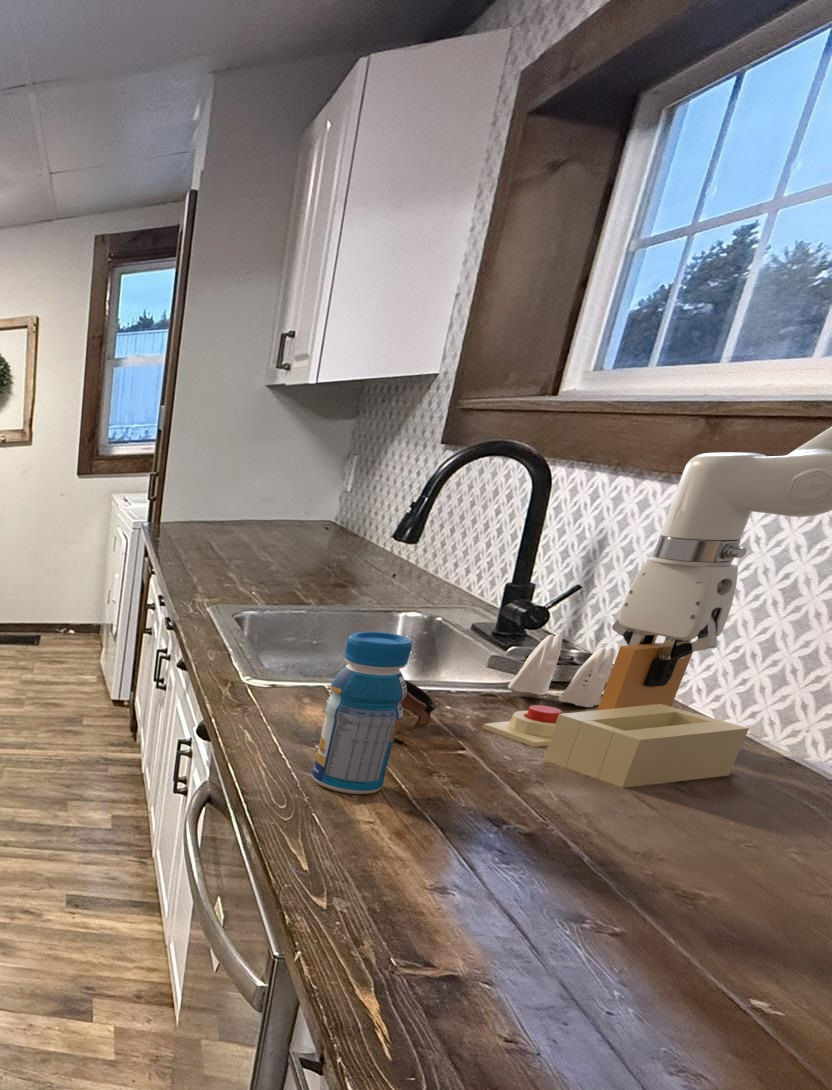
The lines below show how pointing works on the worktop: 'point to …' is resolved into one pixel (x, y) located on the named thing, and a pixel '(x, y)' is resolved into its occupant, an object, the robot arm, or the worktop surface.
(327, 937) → the worktop surface
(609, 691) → the toast
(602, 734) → the toaster
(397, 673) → the beverage bottle
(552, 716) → the pop button
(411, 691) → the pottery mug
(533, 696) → the shaker set
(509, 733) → the button block
